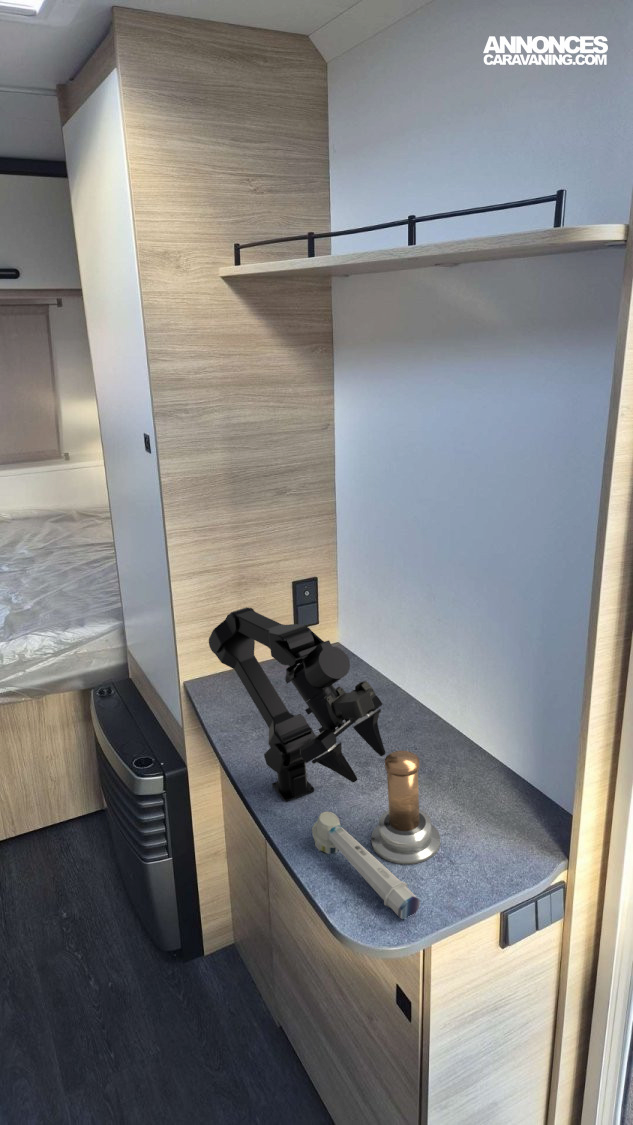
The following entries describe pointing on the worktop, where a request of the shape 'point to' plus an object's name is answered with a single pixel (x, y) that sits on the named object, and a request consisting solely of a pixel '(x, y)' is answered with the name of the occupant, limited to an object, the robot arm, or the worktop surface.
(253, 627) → the robot arm
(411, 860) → the ring
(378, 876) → the grey piece
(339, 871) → the worktop surface
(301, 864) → the worktop surface
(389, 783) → the copper capped cylinder
